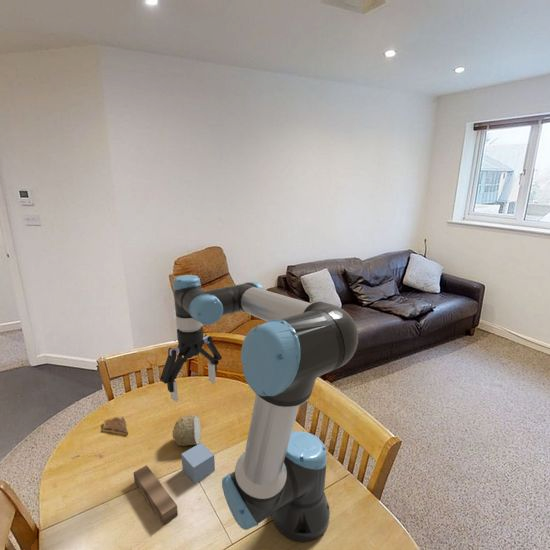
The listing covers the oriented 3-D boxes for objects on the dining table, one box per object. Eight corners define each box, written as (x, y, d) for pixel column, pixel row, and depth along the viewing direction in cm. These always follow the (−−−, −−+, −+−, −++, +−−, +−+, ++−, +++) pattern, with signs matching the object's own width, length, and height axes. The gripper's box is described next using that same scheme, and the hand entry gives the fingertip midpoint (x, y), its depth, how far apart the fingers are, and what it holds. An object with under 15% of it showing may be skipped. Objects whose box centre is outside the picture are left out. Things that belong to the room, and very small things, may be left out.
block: (214, 471, 108) (214, 454, 106) (194, 484, 104) (193, 467, 102) (202, 457, 113) (201, 442, 111) (182, 470, 108) (181, 454, 107)
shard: (128, 437, 122) (128, 432, 121) (104, 445, 118) (103, 440, 118) (124, 418, 131) (123, 414, 130) (101, 425, 127) (100, 421, 127)
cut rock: (205, 435, 113) (175, 424, 112) (194, 456, 116) (165, 446, 115) (211, 413, 122) (183, 403, 121) (200, 434, 125) (174, 424, 124)
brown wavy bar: (177, 515, 94) (176, 505, 93) (163, 525, 91) (162, 514, 90) (147, 474, 107) (146, 464, 106) (134, 482, 104) (133, 472, 103)
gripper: (216, 312, 116) (219, 370, 122) (143, 336, 99) (150, 402, 105) (231, 319, 111) (233, 379, 117) (156, 344, 94) (163, 414, 99)
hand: (194, 390), depth 111 cm, fingers open, 13 cm apart
